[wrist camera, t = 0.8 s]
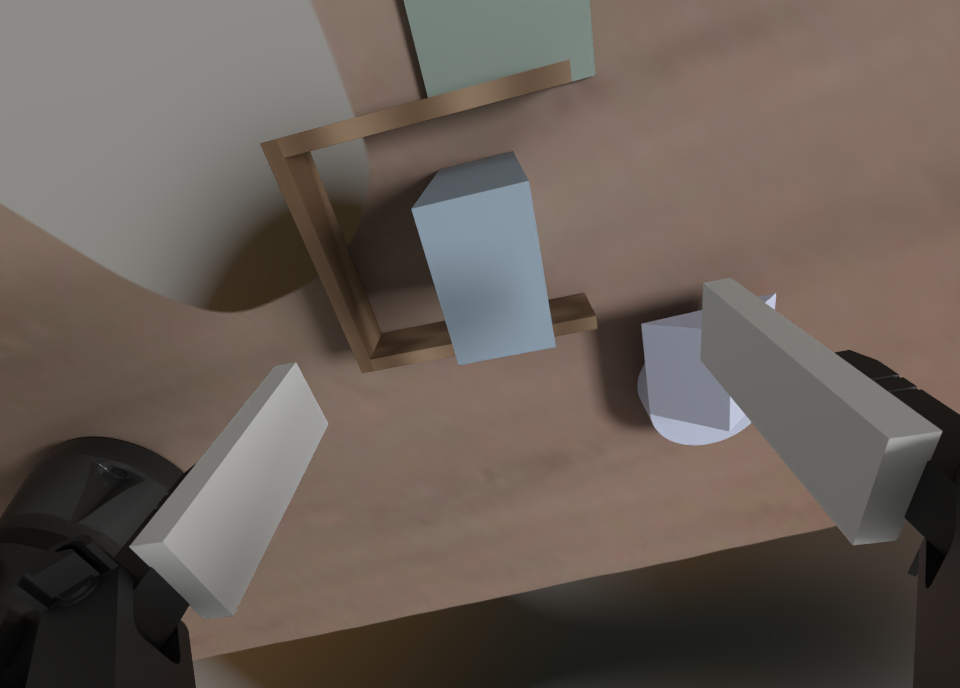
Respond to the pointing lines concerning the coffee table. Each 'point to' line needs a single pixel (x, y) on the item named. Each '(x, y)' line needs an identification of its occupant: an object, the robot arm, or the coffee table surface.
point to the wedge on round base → (685, 383)
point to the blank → (486, 258)
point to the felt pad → (497, 39)
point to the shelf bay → (329, 244)
